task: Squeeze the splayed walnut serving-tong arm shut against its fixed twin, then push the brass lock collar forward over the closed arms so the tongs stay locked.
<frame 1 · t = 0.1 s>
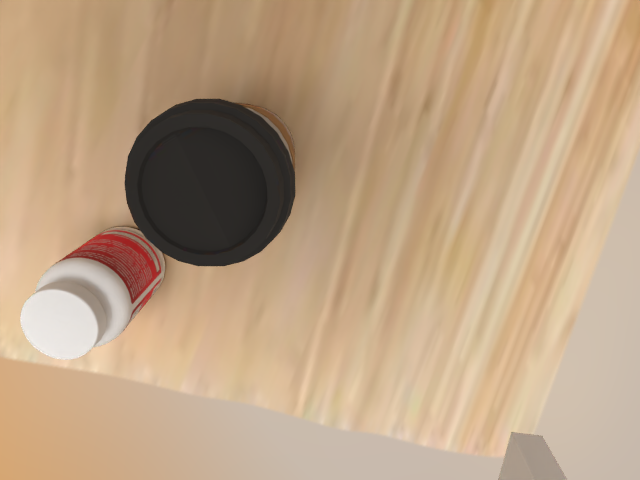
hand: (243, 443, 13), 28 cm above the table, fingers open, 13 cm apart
pill bottle: (129, 261, 42), on the table
coffee cup: (252, 149, 39), on the table
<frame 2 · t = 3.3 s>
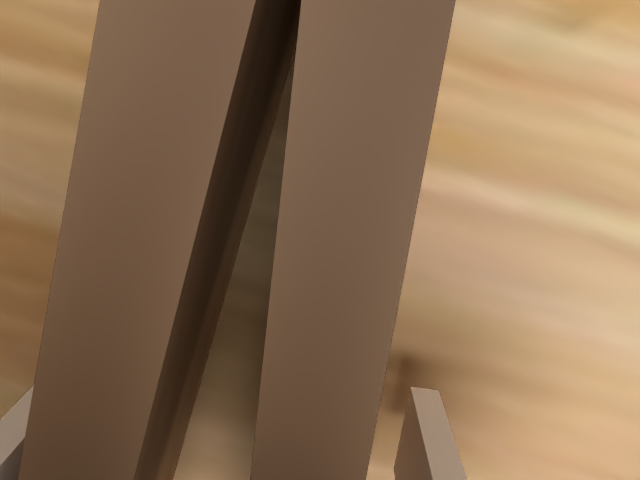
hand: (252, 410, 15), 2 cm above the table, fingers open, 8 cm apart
tong arm: (157, 322, 12), point 3 cm above the table, hinge at -10.2°, touching gripper
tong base: (289, 264, 16), on the table
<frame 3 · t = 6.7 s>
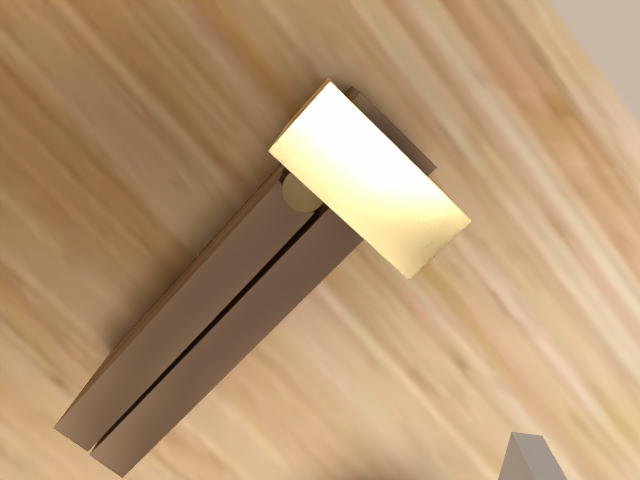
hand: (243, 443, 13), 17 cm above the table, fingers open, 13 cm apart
lock collar: (361, 160, 23), point 5 cm above the table, slide at 0.0 cm
tong arm: (193, 296, 27), point 3 cm above the table, hinge at 0.4°
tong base: (229, 275, 30), on the table
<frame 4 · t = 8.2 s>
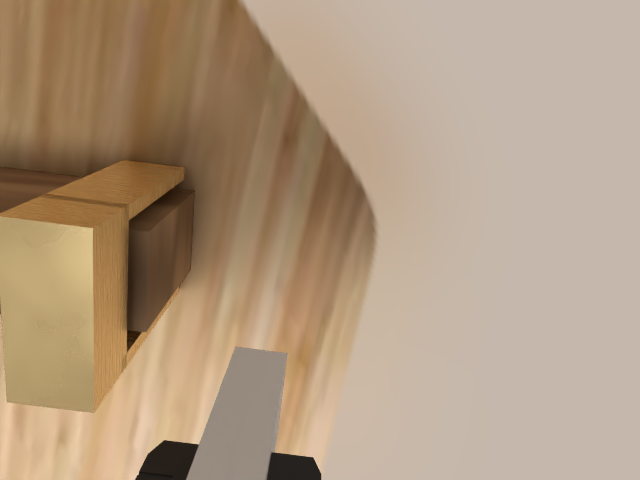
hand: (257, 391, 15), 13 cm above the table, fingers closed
lock collar: (111, 263, 22), point 5 cm above the table, slide at 0.0 cm
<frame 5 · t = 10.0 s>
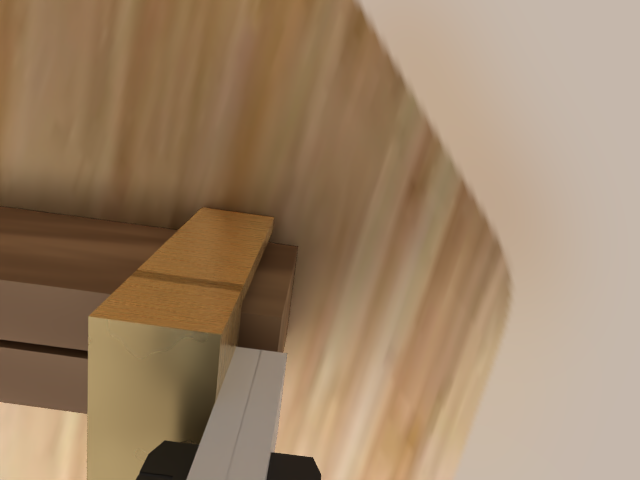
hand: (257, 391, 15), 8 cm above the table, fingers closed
lock collar: (201, 345, 18), point 5 cm above the table, slide at 0.6 cm, touching gripper
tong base: (11, 254, 23), on the table
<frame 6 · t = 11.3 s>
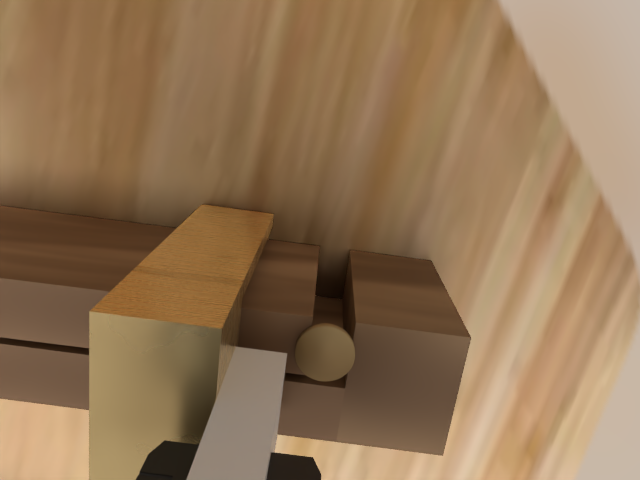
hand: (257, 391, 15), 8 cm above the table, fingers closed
lock collar: (202, 341, 18), point 5 cm above the table, slide at 6.4 cm, touching gripper
tong arm: (92, 272, 19), point 3 cm above the table, hinge at 0.4°
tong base: (143, 269, 23), on the table
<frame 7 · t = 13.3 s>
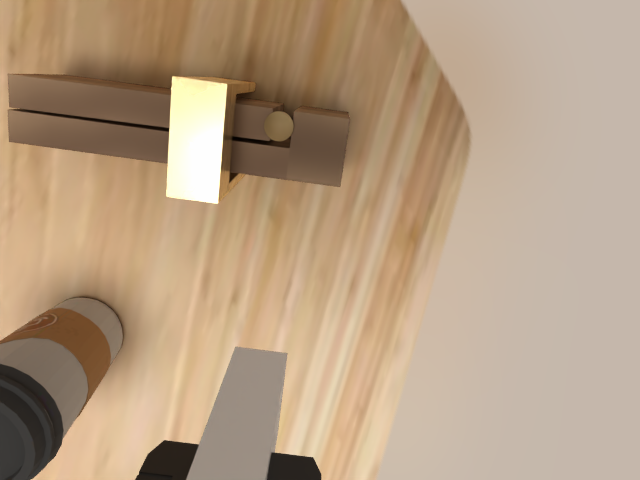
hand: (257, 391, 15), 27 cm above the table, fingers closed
lock collar: (216, 132, 35), point 6 cm above the table, slide at 6.5 cm
tong arm: (158, 105, 36), point 3 cm above the table, hinge at 0.4°
coffee cup: (89, 328, 45), on the table
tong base: (182, 119, 40), on the table
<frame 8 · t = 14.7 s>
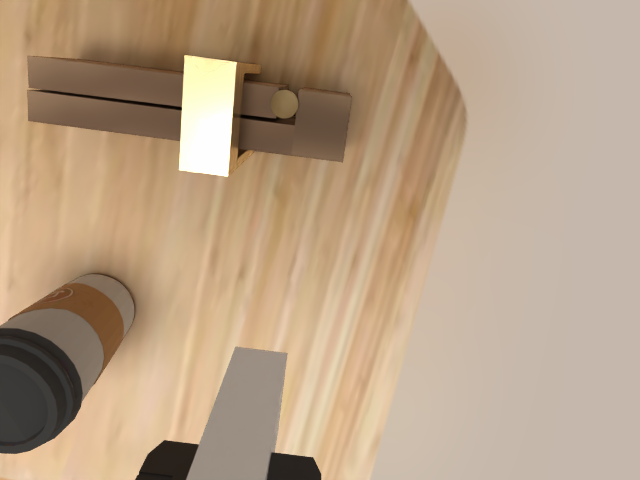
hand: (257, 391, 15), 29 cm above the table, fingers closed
lock collar: (224, 111, 37), point 5 cm above the table, slide at 6.5 cm
tong arm: (169, 86, 38), point 3 cm above the table, hinge at 0.4°
coffee cup: (102, 304, 47), on the table
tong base: (190, 100, 42), on the table
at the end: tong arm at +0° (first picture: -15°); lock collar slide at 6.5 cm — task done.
